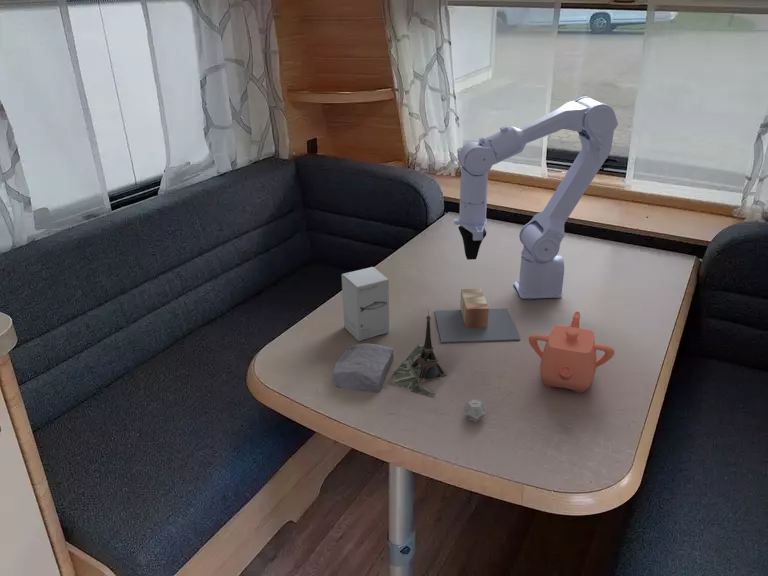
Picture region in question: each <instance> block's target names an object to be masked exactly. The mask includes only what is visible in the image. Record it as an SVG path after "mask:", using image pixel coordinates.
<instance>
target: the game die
mask: <svg viewBox="0 0 768 576" xmlns="http://www.w3.org/2000/svg"><path fill="white" fill-rule="evenodd" d="M463 412H464V413H463V414H464V416H465V417H466V419H468V420H469V421H471V422H475V423H477V422H478V421H480V420H482V419H483V418H484V417H485V416H486V415H487V412H486V406H485V405H484V403H483V402H482V401H480V400H477V399H475V398H474V399H472V400H470V401H468V402H467V403H466V404H465V406H464V407H463Z"/></svg>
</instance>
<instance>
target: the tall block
mask: <svg viewBox="0 0 768 576" xmlns="http://www.w3.org/2000/svg"><path fill="white" fill-rule="evenodd" d="M459 301H460V303H459V304H460V305H459V307H460V309H459V310H461V312H462V316H463V319H464V323H465V326H466V328H482V327H488V311H489V309H490V308H489V306H488V302H487V300H486V298H485V294H484V292H483V289H482V288H466V289H465V288H461V289H460V300H459Z"/></svg>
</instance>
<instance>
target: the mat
mask: <svg viewBox="0 0 768 576" xmlns="http://www.w3.org/2000/svg"><path fill="white" fill-rule="evenodd" d="M434 314H435V319H436V324H437V329H438V335H439V339H440V344H447V343H449V344H452V343H453V344H455V343H479V342H481V343H483V342H484V343H485V342H487V341H488V342H509V341H510V342H511V341H515V342H516V341H517V342H518V341H521V337H520V335H519V333H518V331H517V328H516V326H515V323H514V320H513V318H512V316H511V313H510V312H509V308H506V307H505V308H504V307H503V308H489V311H488V327H482V328H466V326H465V323H464V319H463V316H462V312H461V309H448V310H447V309H446V310H445V309H444V310H441V309H440V310H434Z"/></svg>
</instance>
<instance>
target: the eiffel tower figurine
mask: <svg viewBox="0 0 768 576" xmlns="http://www.w3.org/2000/svg"><path fill="white" fill-rule="evenodd" d="M427 313H428V315H427V316H426V317H425V318H426V330H425V338H424V344H423V345H421V344H418V345H417V346H416V347H415V348H414V349H413V351H412V352H411V353H410V354H409V355H408V356H407V357H406V358H405V359H404V361H402V363H401V364H400V365H399V366H398V367H397V369H396V370H395V371H394V372H393V374H392V375H391V378H392V379H393V382H394V384H396V385H398V386H400V387H403V388H405V389H407V388H408V389H409V390H410V392H412V393H416V394H420V395H424V396H428V397H431V398H434V397H435V396H436V395H437V393H434V392H431V391H430V390H428V389H426V388H424V387H421V386H419V385H417V384H418V383H419V382H420V383H421V382H424V381H429V380H434V379H438V378H442V377H448V375H447V373H446V372H445V371H444V369H443V367H441V365H440V364H439V360H438V358H437V357H436V355H435V353H434V347H433V345H432V335H431V316H430V315H429V310H428V311H427ZM416 356H418V357H417V359H416V360H414V357H416Z"/></svg>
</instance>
